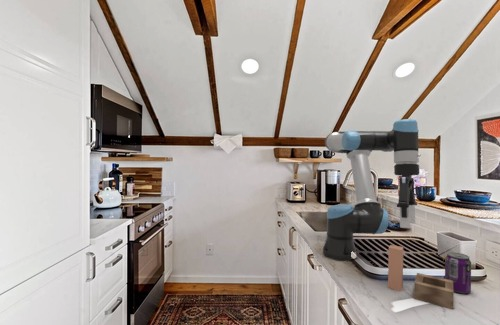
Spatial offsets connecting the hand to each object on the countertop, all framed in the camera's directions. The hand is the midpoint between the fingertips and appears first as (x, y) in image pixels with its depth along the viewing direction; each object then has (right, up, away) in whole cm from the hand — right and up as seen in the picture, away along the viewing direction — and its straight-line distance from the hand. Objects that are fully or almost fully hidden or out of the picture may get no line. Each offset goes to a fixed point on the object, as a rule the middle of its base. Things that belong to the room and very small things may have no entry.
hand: (408, 225), depth 91 cm
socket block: (+5, -22, -5) cm, 23 cm away
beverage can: (+17, -23, 0) cm, 28 cm away
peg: (-3, -22, +2) cm, 22 cm away
